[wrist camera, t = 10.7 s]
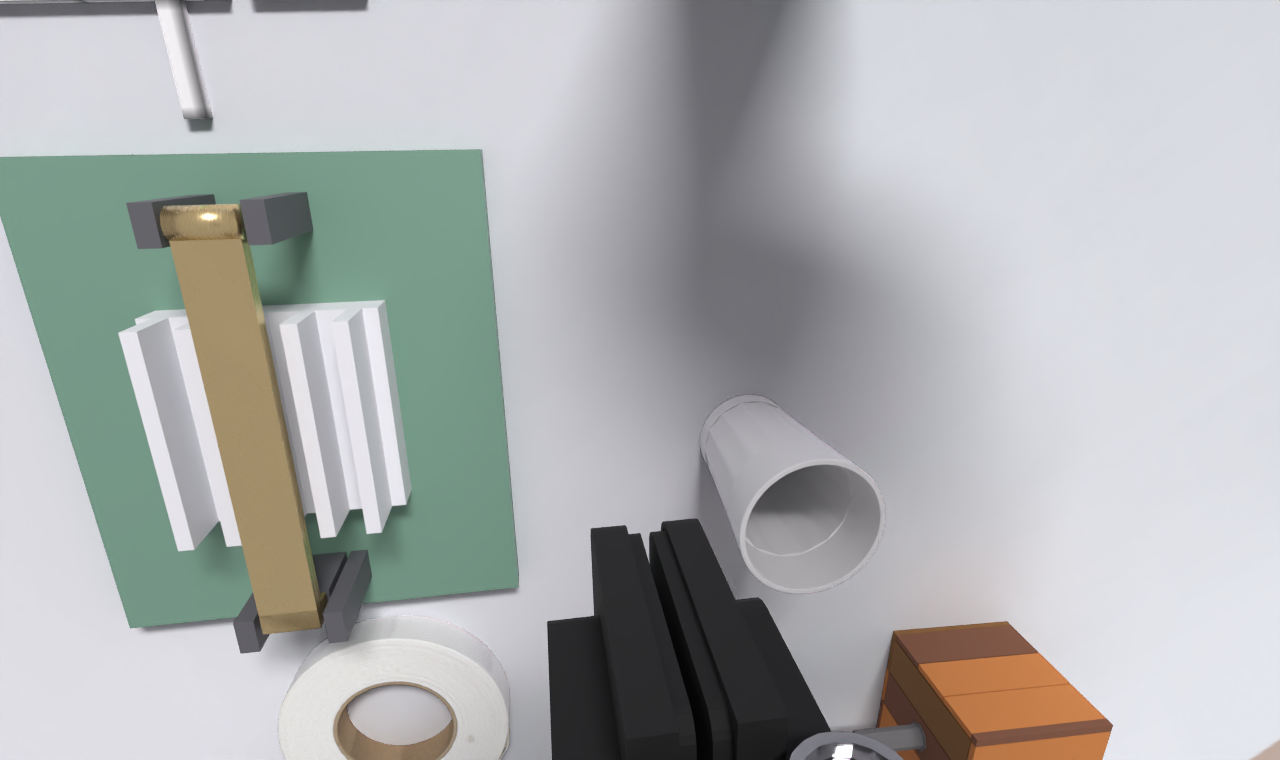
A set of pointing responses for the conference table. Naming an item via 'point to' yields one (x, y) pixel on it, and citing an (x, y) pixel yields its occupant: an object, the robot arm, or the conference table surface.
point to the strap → (246, 410)
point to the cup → (790, 497)
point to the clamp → (982, 700)
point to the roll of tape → (398, 654)
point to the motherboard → (279, 370)
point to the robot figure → (171, 52)
